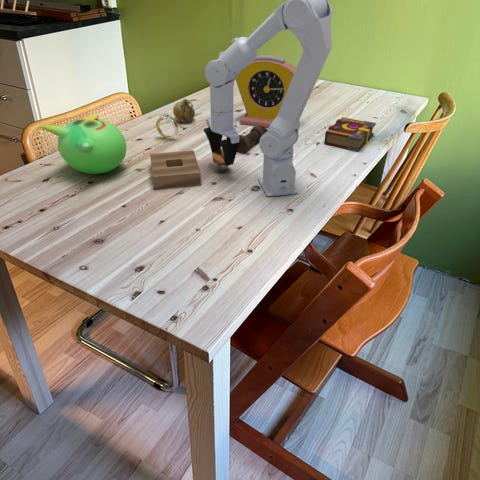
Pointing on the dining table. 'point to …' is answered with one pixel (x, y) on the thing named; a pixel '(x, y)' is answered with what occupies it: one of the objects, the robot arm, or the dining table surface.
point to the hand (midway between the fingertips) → (222, 159)
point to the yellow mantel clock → (264, 88)
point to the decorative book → (349, 134)
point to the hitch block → (175, 169)
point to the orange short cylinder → (220, 161)
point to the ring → (168, 117)
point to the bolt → (251, 138)
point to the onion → (184, 110)
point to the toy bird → (90, 144)
